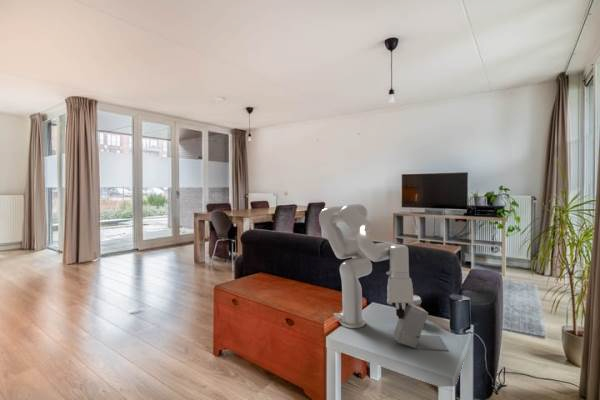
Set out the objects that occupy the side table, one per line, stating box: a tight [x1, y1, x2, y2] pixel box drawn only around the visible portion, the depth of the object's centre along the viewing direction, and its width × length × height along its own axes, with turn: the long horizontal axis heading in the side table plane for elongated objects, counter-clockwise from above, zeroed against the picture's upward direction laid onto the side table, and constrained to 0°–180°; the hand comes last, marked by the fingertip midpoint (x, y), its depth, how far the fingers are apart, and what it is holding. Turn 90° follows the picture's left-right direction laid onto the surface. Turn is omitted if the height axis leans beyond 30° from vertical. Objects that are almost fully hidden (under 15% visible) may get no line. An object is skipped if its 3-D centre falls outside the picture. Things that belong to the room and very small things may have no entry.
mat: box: [416, 334, 449, 352], centre depth 129 cm, size 12×12×1 cm
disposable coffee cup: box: [413, 294, 423, 308], centre depth 150 cm, size 10×10×12 cm
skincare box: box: [392, 304, 429, 349], centre depth 128 cm, size 8×7×16 cm
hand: (400, 317), depth 128 cm, fingers closed
